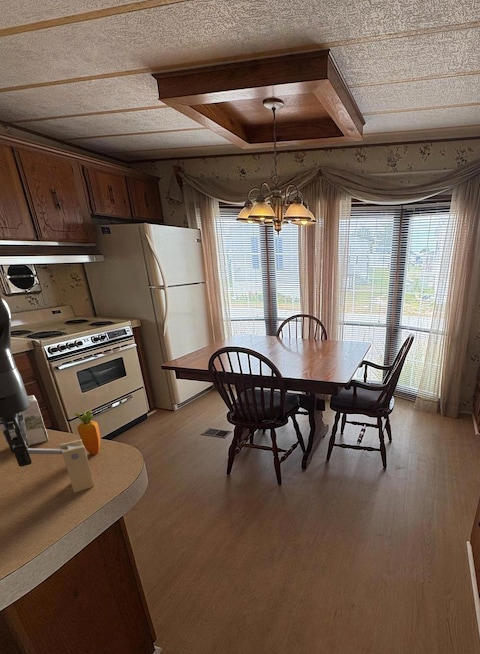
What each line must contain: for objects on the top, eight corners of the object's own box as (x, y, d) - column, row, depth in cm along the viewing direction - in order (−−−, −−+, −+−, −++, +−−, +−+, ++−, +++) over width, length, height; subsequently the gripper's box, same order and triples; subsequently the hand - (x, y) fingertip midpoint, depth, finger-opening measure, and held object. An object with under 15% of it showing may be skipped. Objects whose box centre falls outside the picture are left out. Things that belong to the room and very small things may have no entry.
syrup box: (46, 434, 113) (33, 394, 107) (49, 441, 109) (36, 399, 104) (24, 440, 109) (9, 398, 104) (26, 447, 105) (11, 404, 100)
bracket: (67, 501, 83) (52, 456, 78) (63, 487, 88) (50, 444, 83) (104, 489, 88) (93, 446, 83) (99, 476, 93) (88, 435, 88)
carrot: (81, 460, 100) (68, 413, 94) (94, 451, 105) (83, 406, 99) (96, 462, 99) (84, 415, 94) (109, 453, 104) (98, 408, 98)
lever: (14, 460, 75) (16, 450, 74) (14, 451, 78) (16, 441, 78) (81, 460, 83) (83, 451, 83) (78, 452, 87) (80, 443, 87)
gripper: (-22, 384, 74) (3, 451, 81) (-26, 405, 64) (3, 479, 71) (23, 377, 79) (43, 442, 85) (25, 396, 69) (48, 467, 75)
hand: (25, 458), depth 78 cm, fingers open, 5 cm apart
